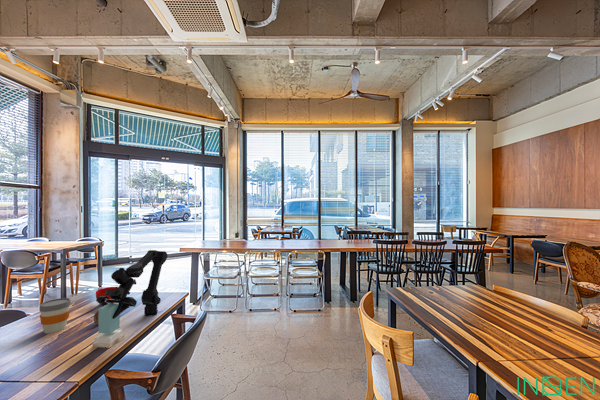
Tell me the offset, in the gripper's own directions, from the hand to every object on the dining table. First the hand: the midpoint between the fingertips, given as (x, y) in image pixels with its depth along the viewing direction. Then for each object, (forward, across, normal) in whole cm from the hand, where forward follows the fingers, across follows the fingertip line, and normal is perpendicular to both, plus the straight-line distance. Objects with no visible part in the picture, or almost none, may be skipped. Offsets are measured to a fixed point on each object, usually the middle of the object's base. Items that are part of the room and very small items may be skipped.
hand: (107, 318), depth 126 cm
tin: (-7, -22, +26) cm, 34 cm away
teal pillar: (+4, 0, +6) cm, 7 cm away
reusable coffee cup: (+1, -40, +17) cm, 44 cm away
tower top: (+7, 0, +8) cm, 11 cm away
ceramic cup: (-23, -38, +42) cm, 61 cm away
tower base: (+8, 0, +10) cm, 13 cm away
